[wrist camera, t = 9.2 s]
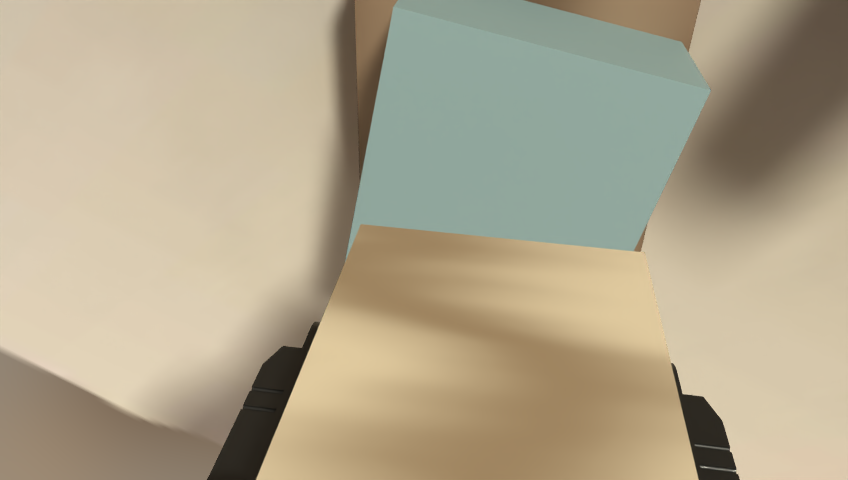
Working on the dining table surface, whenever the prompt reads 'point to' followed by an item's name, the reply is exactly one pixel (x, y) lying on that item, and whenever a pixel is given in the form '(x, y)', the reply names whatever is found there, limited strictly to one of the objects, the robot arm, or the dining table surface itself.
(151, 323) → the dining table surface
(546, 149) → the tower top
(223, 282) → the dining table surface
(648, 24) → the tower base
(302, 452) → the maple block
